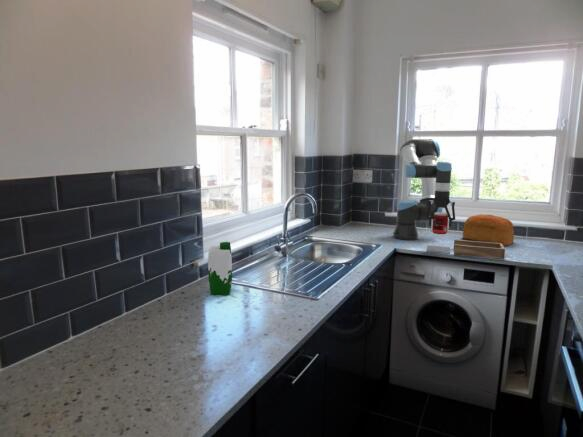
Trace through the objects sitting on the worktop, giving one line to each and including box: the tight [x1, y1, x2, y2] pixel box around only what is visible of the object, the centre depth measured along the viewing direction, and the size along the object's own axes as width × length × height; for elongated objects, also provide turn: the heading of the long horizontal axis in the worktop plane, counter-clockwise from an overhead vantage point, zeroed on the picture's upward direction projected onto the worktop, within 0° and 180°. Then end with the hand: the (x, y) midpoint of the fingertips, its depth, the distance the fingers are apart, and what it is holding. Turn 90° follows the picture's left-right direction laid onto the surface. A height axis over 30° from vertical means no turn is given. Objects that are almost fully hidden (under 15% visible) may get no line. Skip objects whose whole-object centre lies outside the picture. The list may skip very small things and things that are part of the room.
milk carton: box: [207, 241, 233, 296], centre depth 161 cm, size 9×9×20 cm
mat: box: [426, 244, 451, 255], centre depth 228 cm, size 14×12×1 cm
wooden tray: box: [453, 239, 506, 259], centre depth 221 cm, size 13×24×5 cm, turn 69°
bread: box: [462, 214, 515, 246], centre depth 249 cm, size 16×27×16 cm, turn 43°
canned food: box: [432, 211, 449, 235], centre depth 226 cm, size 8×8×11 cm
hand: (439, 231), depth 226 cm, fingers closed on canned food, 8 cm apart
